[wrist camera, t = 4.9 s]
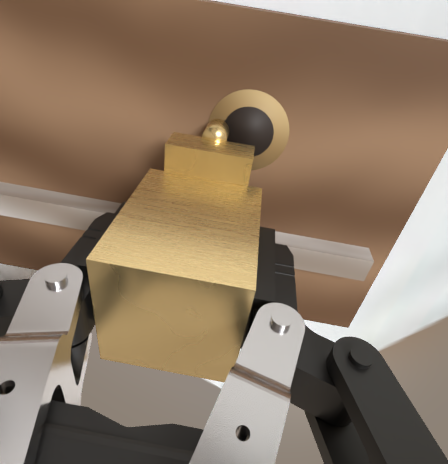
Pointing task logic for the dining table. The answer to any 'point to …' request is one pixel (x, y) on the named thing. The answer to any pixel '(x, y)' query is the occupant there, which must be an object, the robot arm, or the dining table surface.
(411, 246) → the dining table surface
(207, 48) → the wooden slider board
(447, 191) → the dining table surface
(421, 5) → the dining table surface
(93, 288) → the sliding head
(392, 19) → the dining table surface
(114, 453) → the robot arm
